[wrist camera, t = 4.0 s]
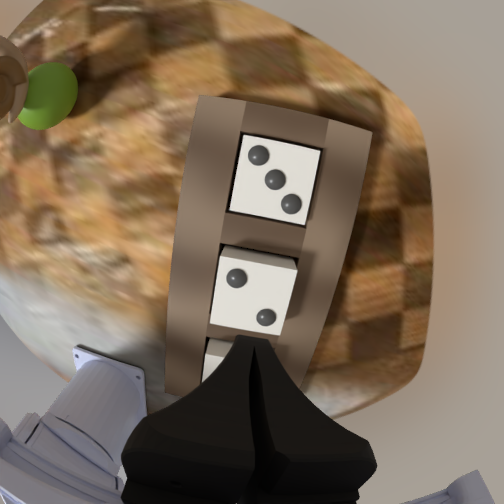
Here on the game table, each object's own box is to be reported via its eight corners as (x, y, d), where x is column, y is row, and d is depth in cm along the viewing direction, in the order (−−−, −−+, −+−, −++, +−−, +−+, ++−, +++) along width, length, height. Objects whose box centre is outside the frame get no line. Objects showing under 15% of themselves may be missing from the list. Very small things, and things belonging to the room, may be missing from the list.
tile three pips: (298, 218, 19) (304, 225, 16) (233, 205, 19) (229, 210, 16) (312, 153, 18) (320, 150, 15) (245, 139, 18) (243, 134, 15)
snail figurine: (96, 54, 16) (-1, 2, 4) (87, 125, 17) (-34, 109, 6) (49, 71, 16) (-46, 43, 4) (41, 137, 17) (-68, 136, 6)
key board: (287, 398, 24) (289, 413, 22) (170, 378, 23) (164, 392, 21) (361, 135, 17) (372, 132, 15) (205, 102, 17) (199, 94, 15)
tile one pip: (258, 386, 22) (258, 407, 19) (204, 377, 22) (199, 398, 19) (270, 344, 20) (271, 365, 18) (210, 334, 20) (205, 354, 18)
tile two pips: (277, 316, 20) (280, 336, 17) (215, 305, 20) (209, 323, 17) (292, 257, 19) (297, 270, 16) (225, 244, 18) (220, 256, 16)
